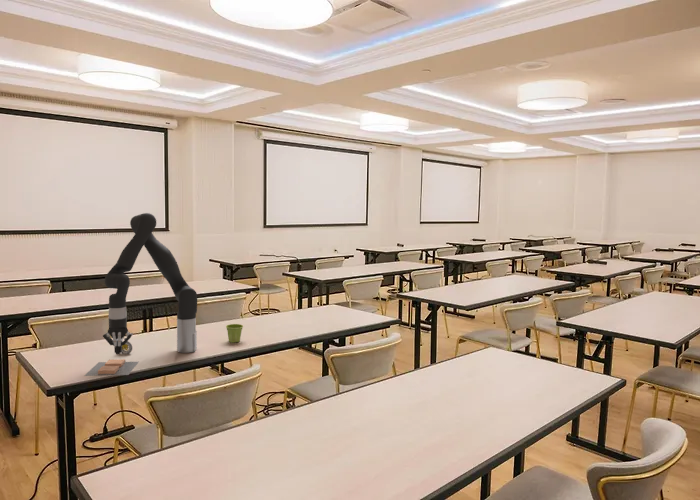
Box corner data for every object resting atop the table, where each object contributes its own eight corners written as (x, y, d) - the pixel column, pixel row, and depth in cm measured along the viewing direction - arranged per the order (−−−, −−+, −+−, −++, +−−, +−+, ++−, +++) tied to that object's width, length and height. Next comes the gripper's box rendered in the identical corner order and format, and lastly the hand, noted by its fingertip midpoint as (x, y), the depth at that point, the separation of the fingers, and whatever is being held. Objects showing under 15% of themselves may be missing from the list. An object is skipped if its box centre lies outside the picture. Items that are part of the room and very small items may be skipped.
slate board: (139, 364, 236) (139, 361, 236) (128, 377, 218) (128, 374, 218) (98, 364, 233) (98, 362, 233) (84, 378, 216) (84, 375, 216)
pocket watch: (114, 361, 239) (114, 340, 238) (113, 355, 247) (113, 336, 246) (133, 359, 243) (133, 338, 242) (131, 354, 251) (131, 334, 250)
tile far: (125, 359, 233) (109, 359, 232) (121, 363, 228) (104, 363, 226) (125, 362, 234) (109, 363, 233) (121, 367, 228) (104, 367, 227)
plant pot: (245, 339, 282) (245, 324, 281) (240, 344, 273) (240, 328, 272) (229, 338, 283) (229, 323, 282) (223, 343, 274) (223, 327, 273)
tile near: (119, 365, 225) (102, 366, 224) (114, 370, 219) (97, 370, 218) (119, 369, 225) (102, 369, 224) (115, 373, 219) (97, 374, 218)
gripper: (135, 314, 233) (135, 351, 234) (105, 314, 231) (105, 351, 232) (130, 318, 225) (131, 356, 227) (99, 318, 223) (100, 356, 225)
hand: (118, 353), depth 230 cm, fingers closed
